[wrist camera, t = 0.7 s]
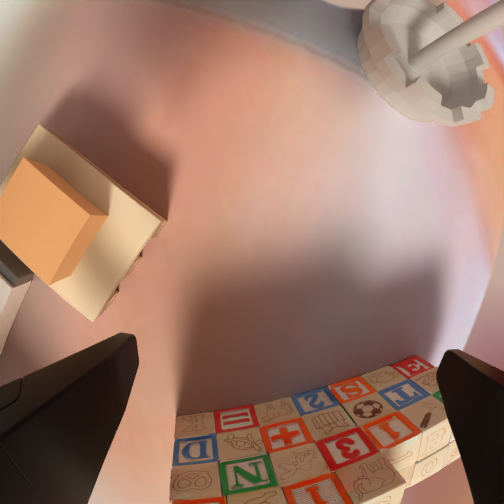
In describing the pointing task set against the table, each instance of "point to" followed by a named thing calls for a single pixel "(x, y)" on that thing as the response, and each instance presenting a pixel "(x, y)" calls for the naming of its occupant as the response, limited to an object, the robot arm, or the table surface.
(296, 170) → the table surface
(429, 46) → the flag stand
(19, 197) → the tan cardboard cube
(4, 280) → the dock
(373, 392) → the stack of blocks
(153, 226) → the pallet
